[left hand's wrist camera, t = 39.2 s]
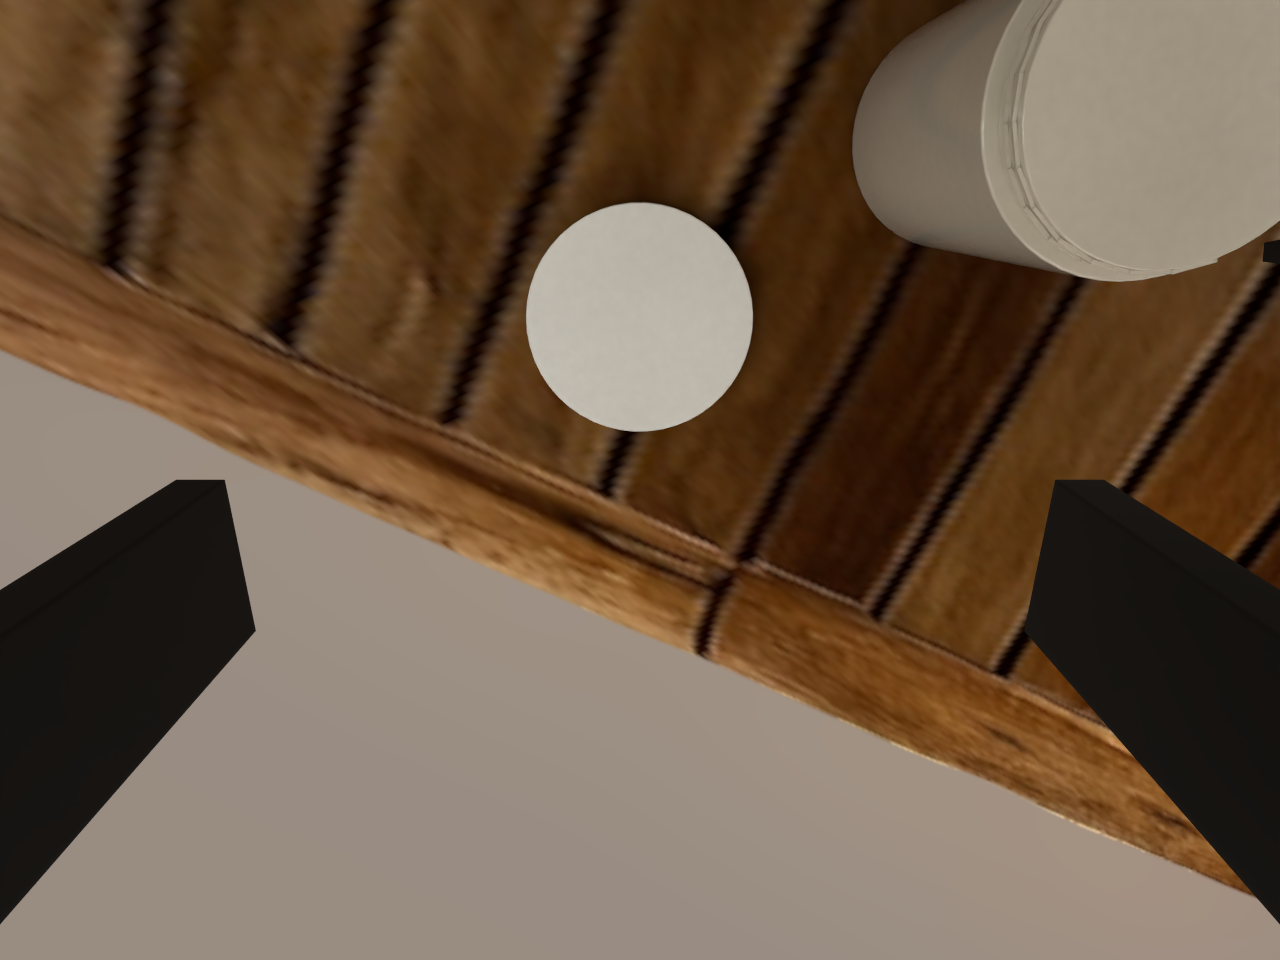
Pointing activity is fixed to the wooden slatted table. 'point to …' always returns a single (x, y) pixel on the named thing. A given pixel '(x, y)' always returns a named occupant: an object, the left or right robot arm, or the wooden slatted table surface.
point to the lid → (639, 316)
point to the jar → (1079, 133)
